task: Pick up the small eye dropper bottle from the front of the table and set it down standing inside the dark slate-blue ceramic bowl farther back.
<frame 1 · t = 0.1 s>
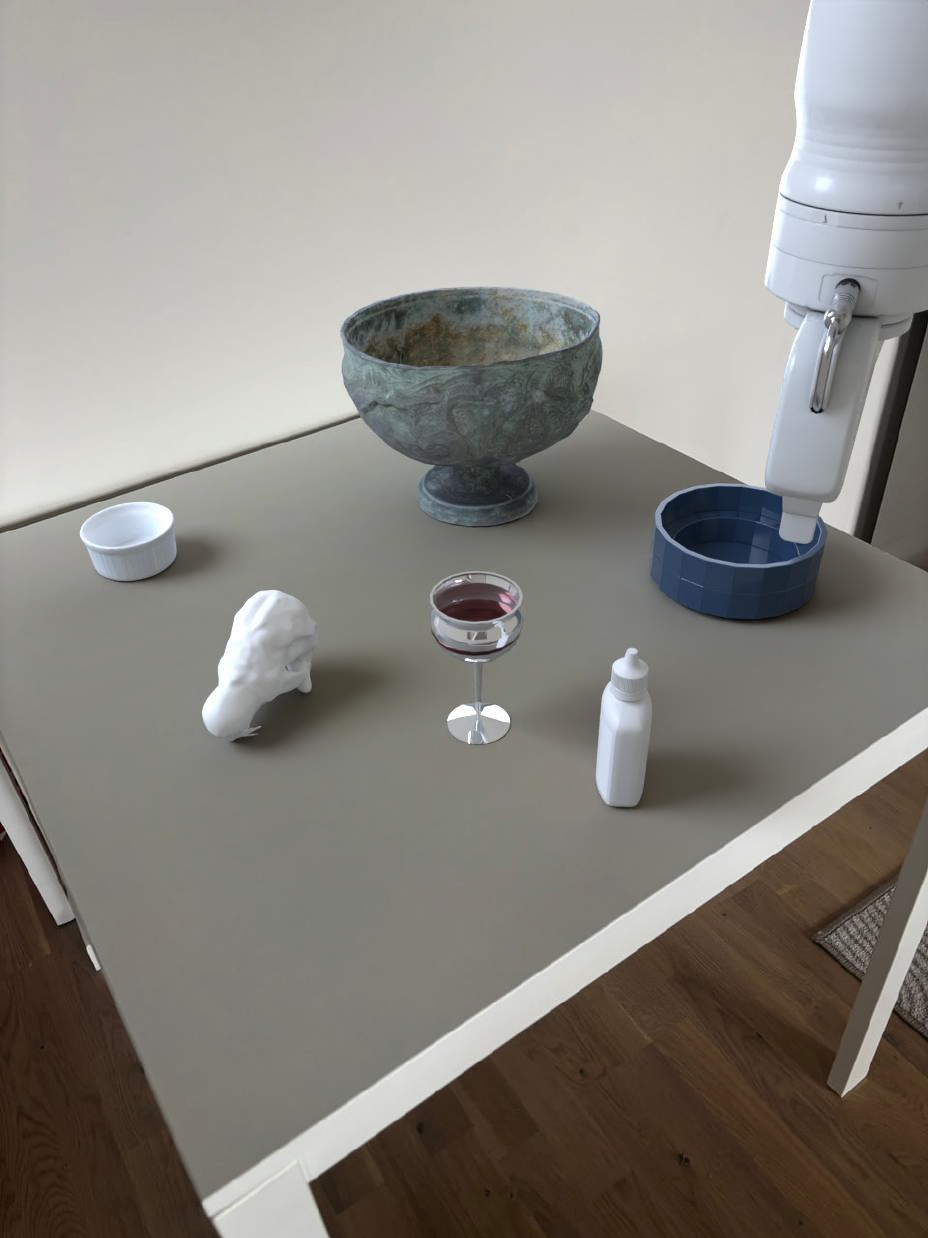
hand: (808, 497, 57), 23 cm above the table, tool pointing down, fingers open, 8 cm apart
blue bowl: (730, 577, 92), on the table
decorative bowl: (475, 496, 106), on the table
ramekin: (137, 562, 97), on the table
eye dropper bottle: (619, 783, 71), on the table
wineglass: (478, 724, 76), on the table
white lumpy figure: (261, 708, 78), on the table
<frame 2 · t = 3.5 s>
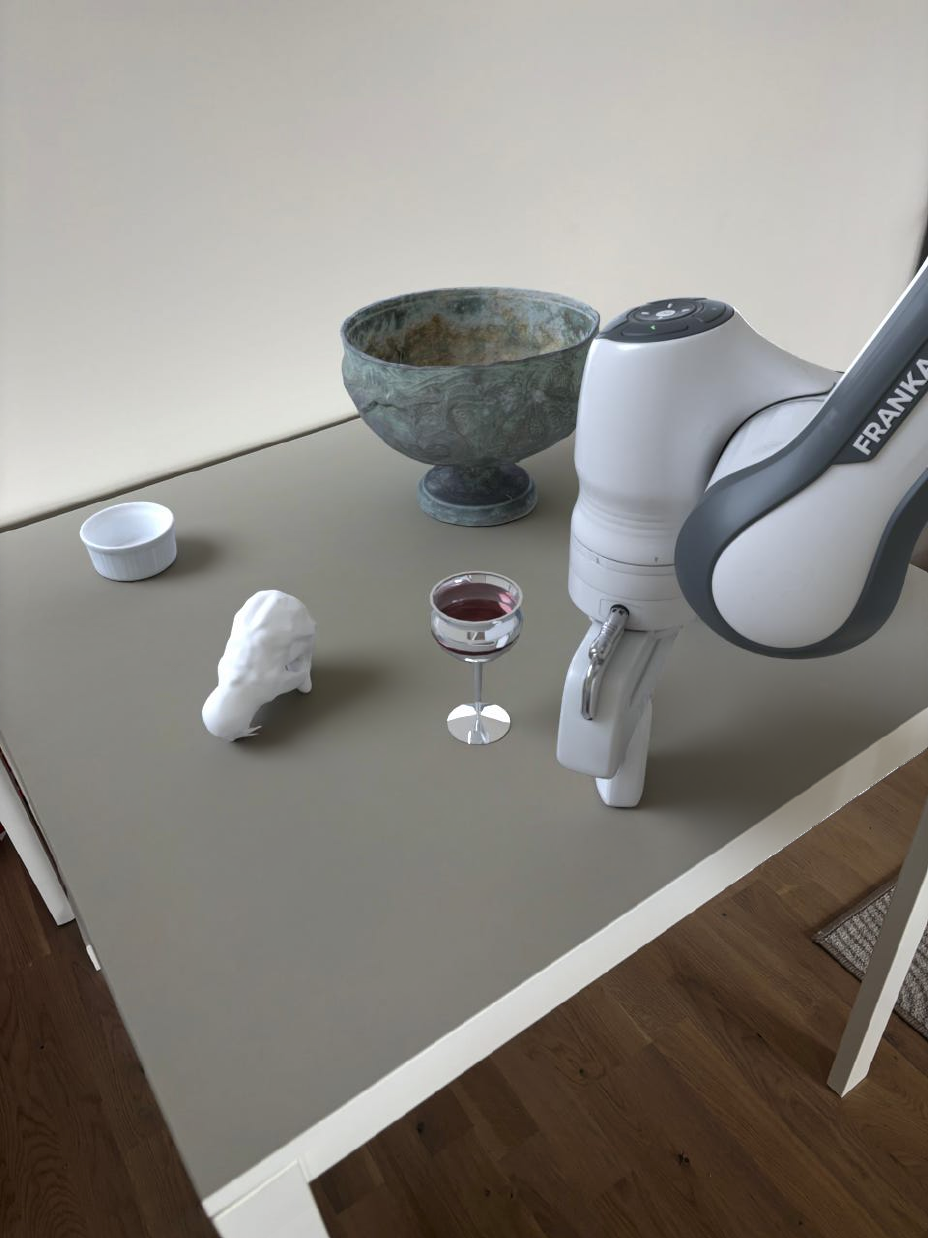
hand: (624, 734, 68), 5 cm above the table, tool pointing down, fingers closed on eye dropper bottle, 5 cm apart
eye dropper bottle: (618, 783, 71), on the table, touching gripper
everything else where it was.
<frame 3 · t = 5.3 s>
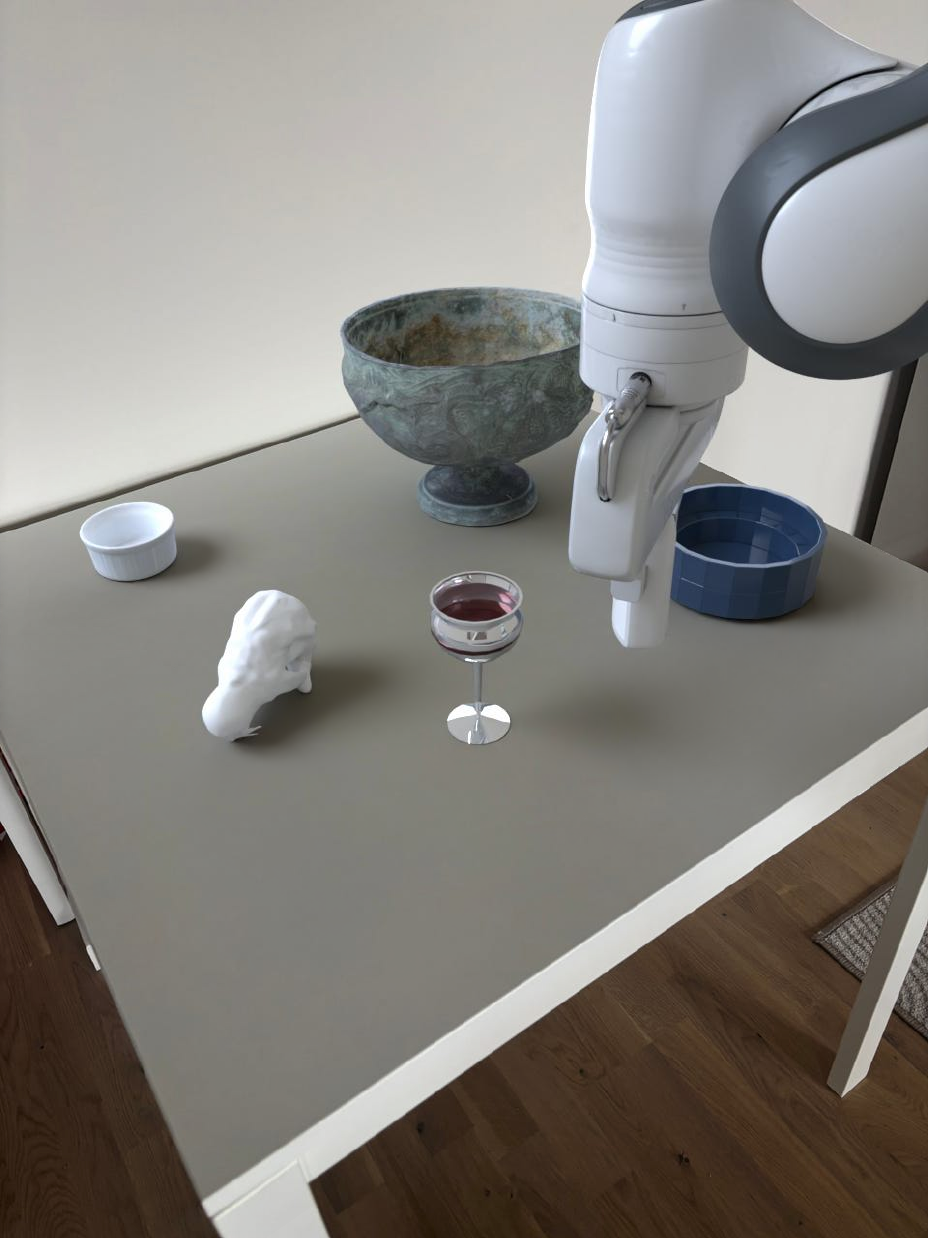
hand: (644, 564, 60), 19 cm above the table, tool pointing down, fingers closed on eye dropper bottle, 5 cm apart
eye dropper bottle: (638, 629, 62), point 14 cm above the table, touching gripper
everything else where it was.
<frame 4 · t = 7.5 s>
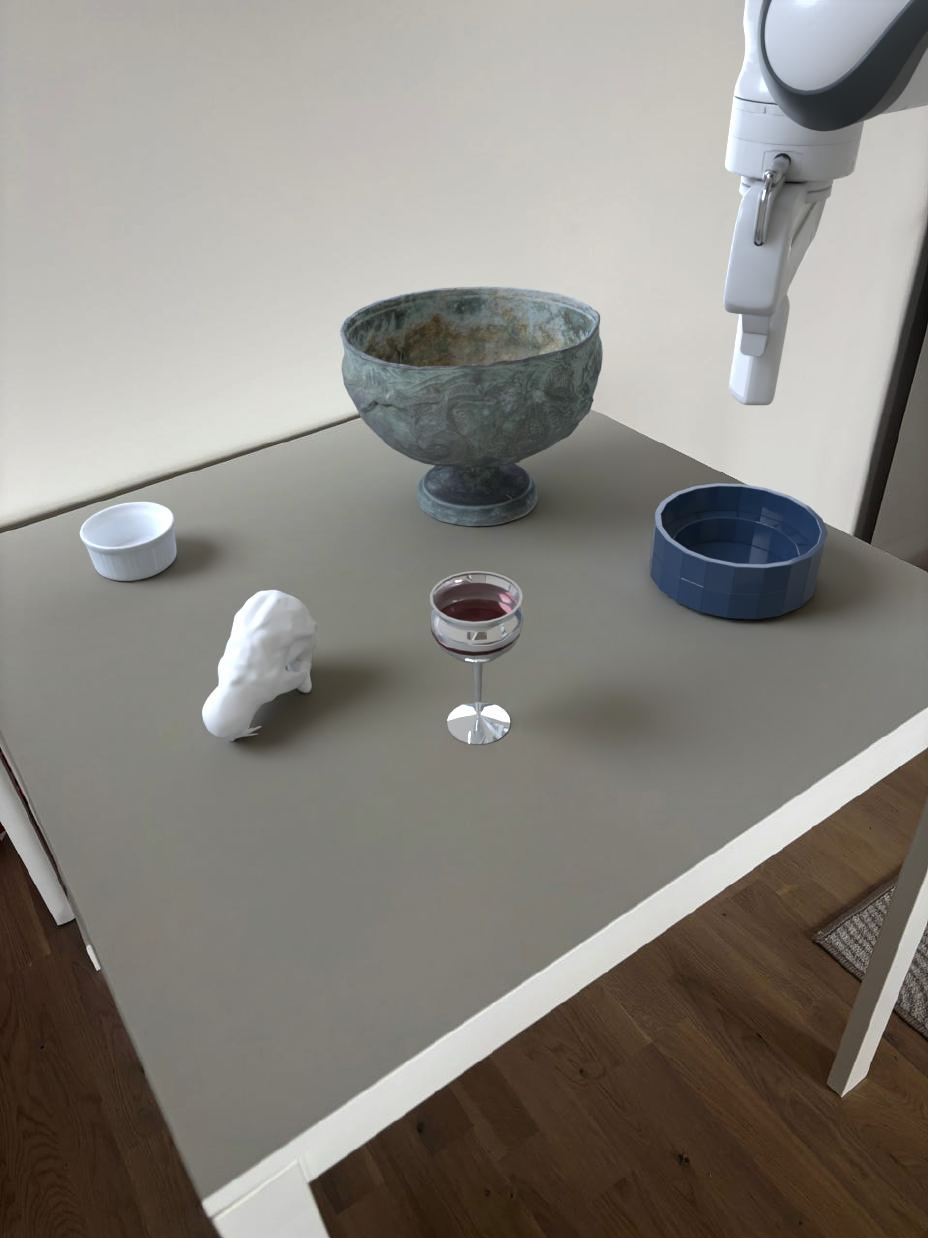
hand: (761, 337, 76), 24 cm above the table, tool pointing down, fingers closed on eye dropper bottle, 5 cm apart
eye dropper bottle: (750, 395, 78), point 19 cm above the table, touching gripper
everything else where it was.
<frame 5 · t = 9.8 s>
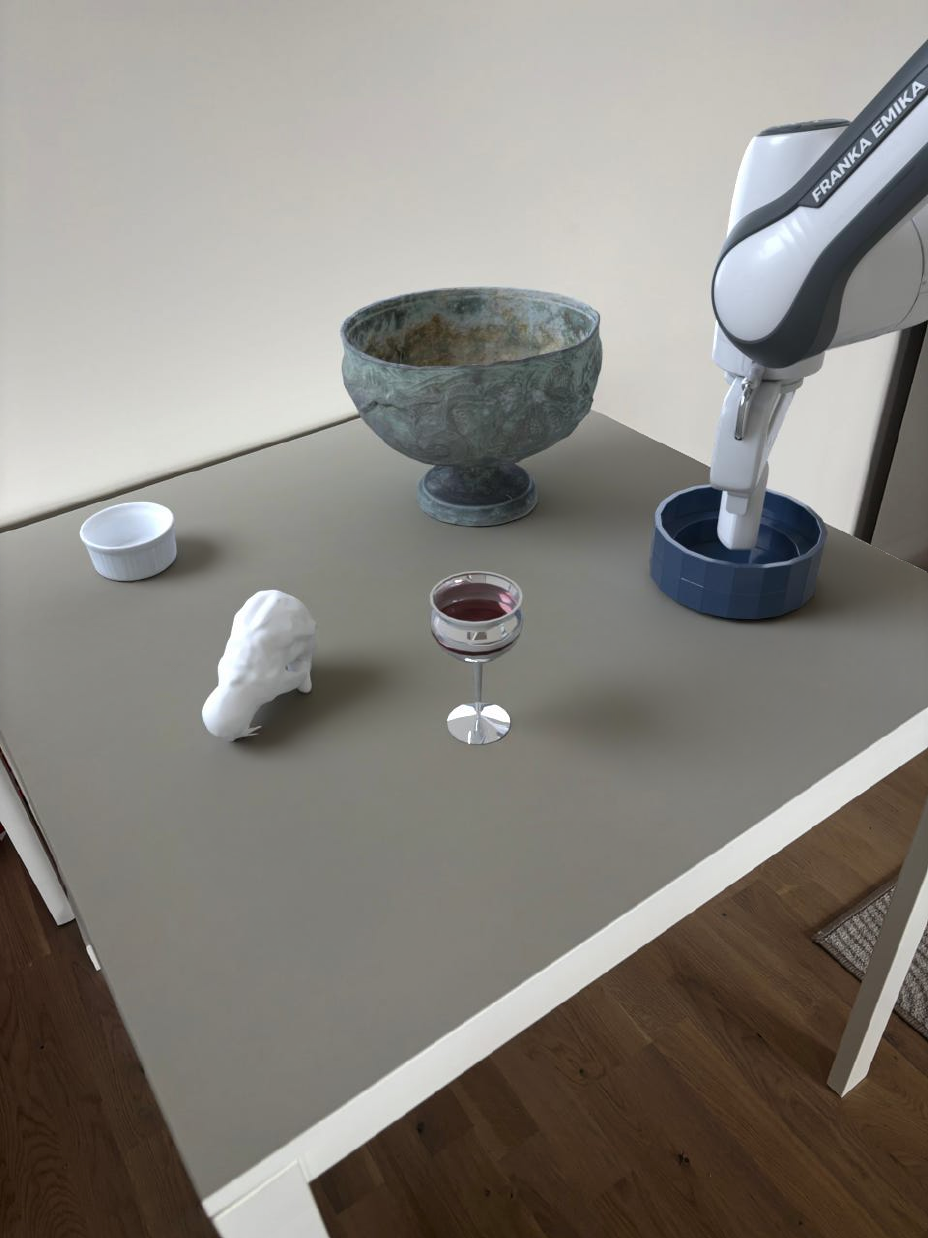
hand: (744, 492, 87), 9 cm above the table, tool pointing down, fingers closed on eye dropper bottle, 5 cm apart
eye dropper bottle: (736, 538, 89), point 4 cm above the table, touching gripper
everything else where it was.
when the fingers open (5 cm above the table, at t = 11.5 s): eye dropper bottle stays where it is, resting on blue bowl.
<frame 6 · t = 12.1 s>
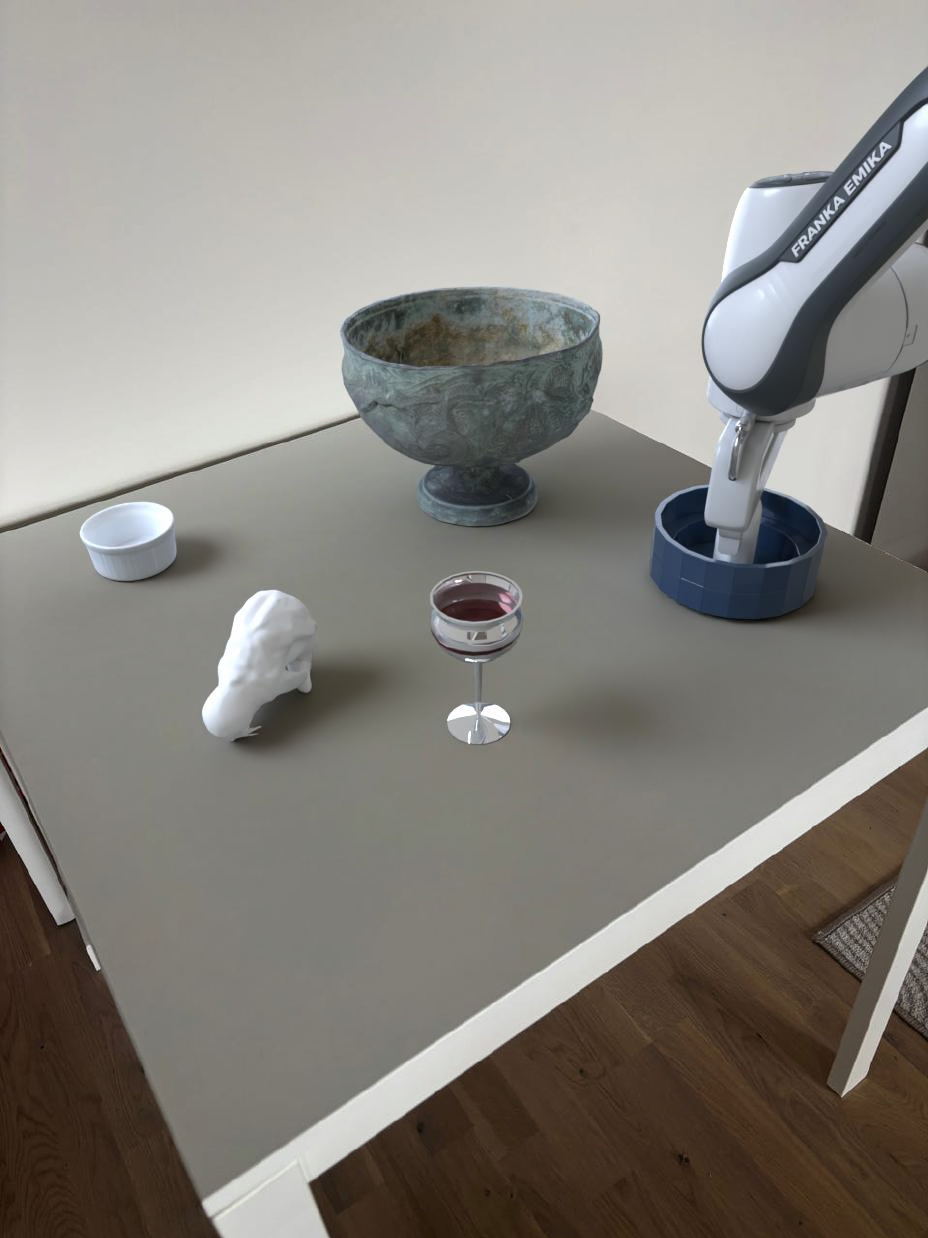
hand: (739, 525, 89), 6 cm above the table, tool pointing down, fingers open, 8 cm apart
eye dropper bottle: (730, 574, 92), resting on blue bowl
everything else where it was.
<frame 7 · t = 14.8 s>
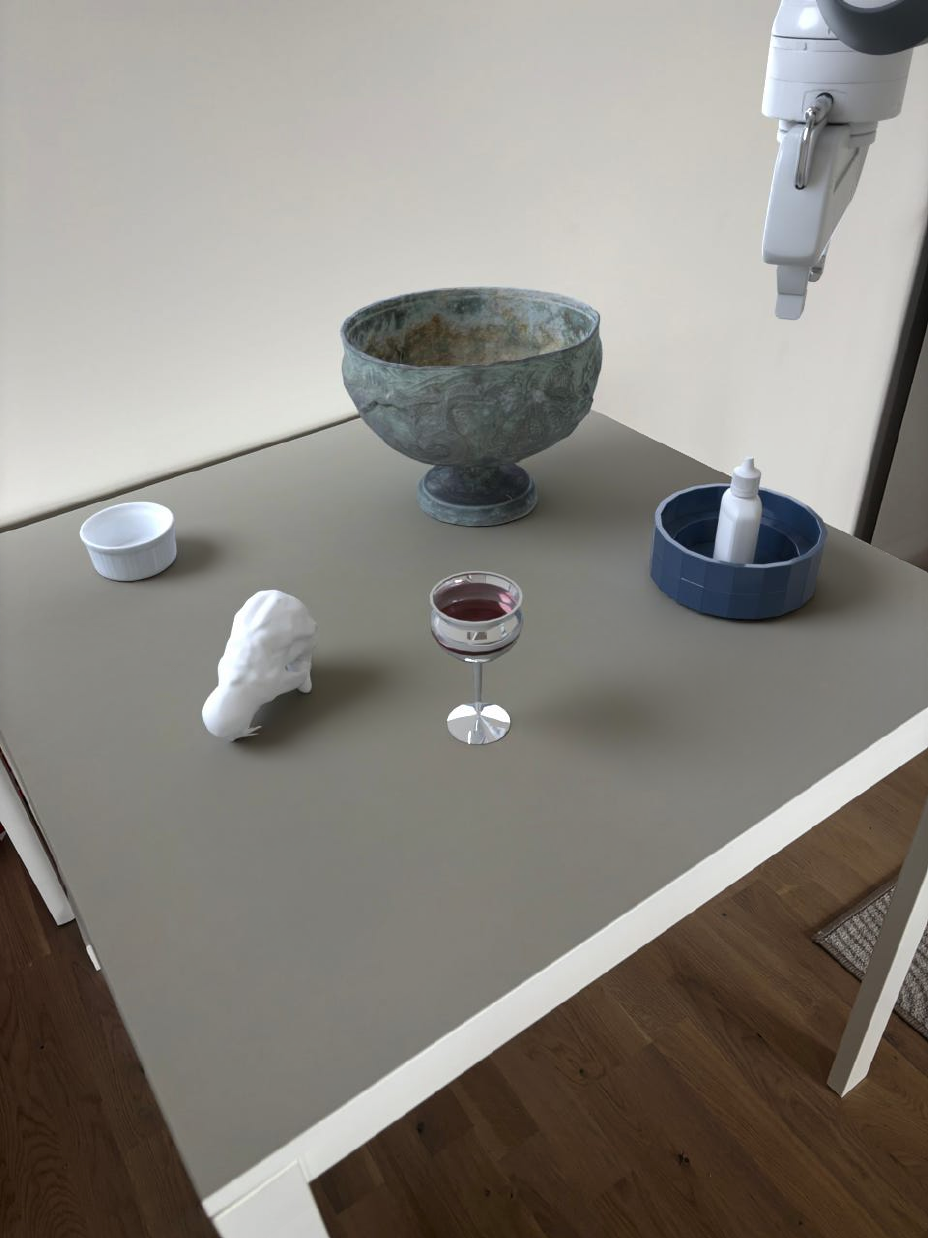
hand: (799, 296, 72), 28 cm above the table, tool pointing down, fingers open, 8 cm apart
nothing on the table moved.
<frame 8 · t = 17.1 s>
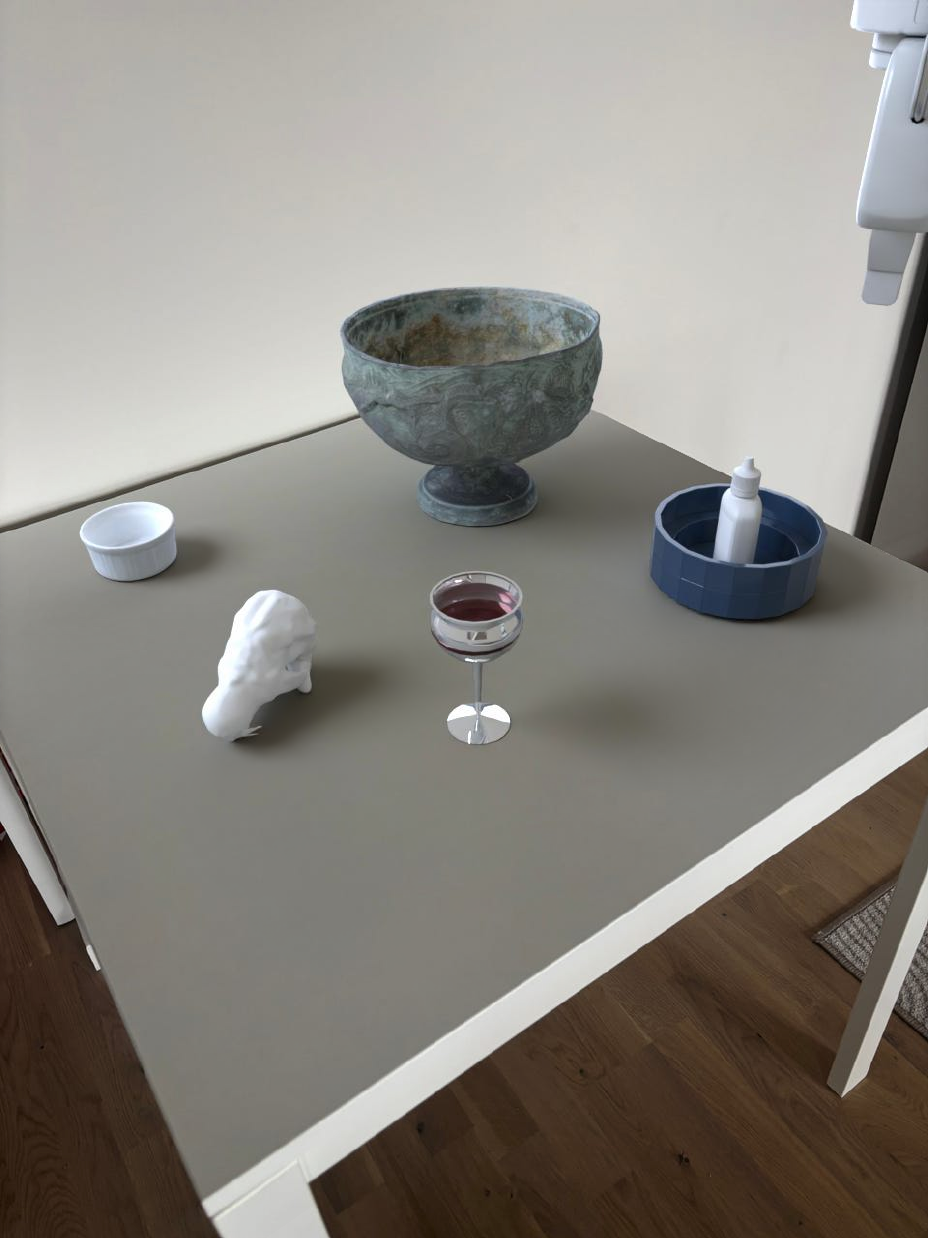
hand: (886, 276, 55), 34 cm above the table, tool pointing down, fingers open, 8 cm apart
nothing on the table moved.
at the end: eye dropper bottle inside the target area in the blue bowl (0.1 cm from its centre), point 0.4 cm above the blue bowl's base; the gripper is holding nothing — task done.
